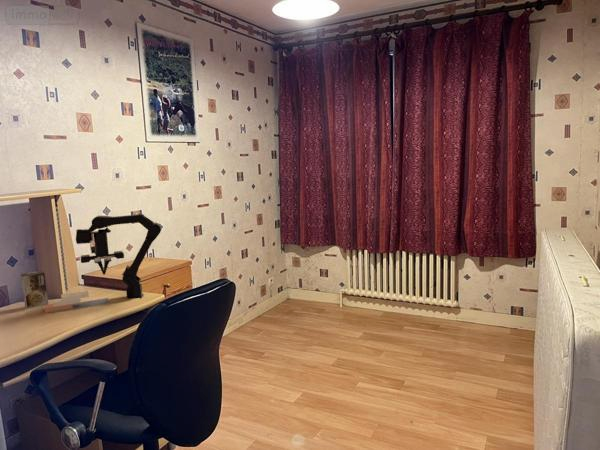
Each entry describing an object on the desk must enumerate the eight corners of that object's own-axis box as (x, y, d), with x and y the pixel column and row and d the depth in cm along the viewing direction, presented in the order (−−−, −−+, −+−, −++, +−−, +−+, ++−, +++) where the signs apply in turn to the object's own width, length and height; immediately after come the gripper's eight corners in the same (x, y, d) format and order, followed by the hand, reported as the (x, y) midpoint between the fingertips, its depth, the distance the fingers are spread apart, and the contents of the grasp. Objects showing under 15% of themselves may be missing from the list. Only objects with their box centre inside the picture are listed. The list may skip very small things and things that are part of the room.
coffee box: (46, 302, 214) (42, 270, 212) (49, 305, 210) (45, 272, 207) (24, 307, 209) (20, 273, 207) (26, 310, 204) (22, 276, 202)
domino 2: (79, 295, 208) (52, 299, 203) (80, 298, 204) (52, 302, 199) (80, 299, 208) (53, 303, 203) (80, 302, 204) (53, 306, 199)
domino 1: (72, 301, 207) (44, 305, 202) (72, 303, 202) (44, 308, 197) (72, 305, 207) (45, 309, 202) (72, 308, 203) (45, 312, 198)
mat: (107, 299, 217) (107, 297, 217) (110, 304, 208) (110, 303, 207) (52, 308, 206) (51, 306, 206) (51, 314, 196) (51, 313, 196)
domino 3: (87, 290, 210) (61, 294, 204) (88, 292, 205) (61, 296, 200) (88, 294, 210) (61, 298, 205) (88, 296, 205) (61, 301, 200)
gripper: (119, 238, 222) (122, 268, 224) (78, 242, 213) (81, 273, 215) (122, 241, 212) (125, 272, 215) (79, 245, 204) (82, 278, 206)
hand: (104, 274), depth 213 cm, fingers closed
